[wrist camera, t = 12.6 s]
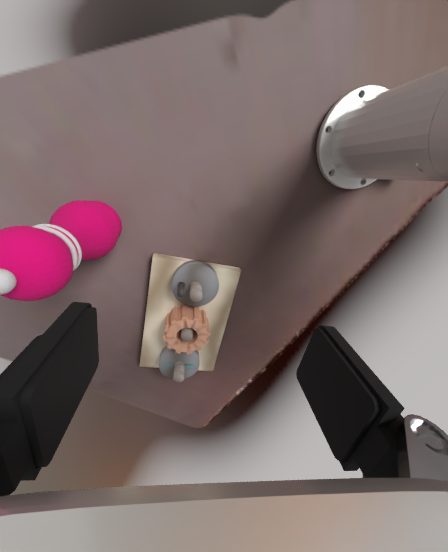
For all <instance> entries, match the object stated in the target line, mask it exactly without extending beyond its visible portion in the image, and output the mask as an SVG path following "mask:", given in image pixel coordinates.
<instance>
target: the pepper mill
mask: <svg viewBox="0 0 448 552" xmlns="http://www.w3.org/2000/svg"><path fill="white" fill-rule="evenodd" d="M121 230H122V225H121V220H120V218H119V216H118V214H117V213H116V211H115V210H114V209H113V208H111V207H110V206H109V205H107V204H105V203H102V202H99V201H72V202H70V203H67V204H65V205H63V206H61V207H60V208H59V209H58V210H56V212H55V213H54V214H53V215H52V217H51V219H50V223H49V224H38V225H35V226H32V227H29V226H14V227H9V228H4V229H2V230H0V295H2V296H4V297H7V298H10V299H15V300H21V301H34V300H40V299H44V298H47V297H50V296H52V295H54V294H56V293H57V292H59V291H60V290H61V289H63V288H64V287H65V286H66V284H67V283H68V282H69V280H70V279H71V277H72V273H73V271H74V270H75V269H76V268H77V267H78V266H79V264H80V262H81V260H92V259H97V258H100V257H102V256H104V255H106V254H107V253H109V252H110V251H111V250H112V249H113V247H114V246H115V244H116V242H117V239H118V237H119V236H120V233H121Z"/></svg>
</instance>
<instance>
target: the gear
mask: <svg viewBox="0 0 448 552" xmlns="http://www.w3.org/2000/svg"><path fill="white" fill-rule="evenodd" d="M183 328H192V333H193V337H192V339H191V340H190V341H183V340H182V339H181V329H183ZM208 336H210V329H209V322H208V318H207V317H206V312H205V311H204V310H200V309H199V307H191V306H187V305H184V304H183V306H182V307H179V308H178V307H177V306H176V307H174V308H172V313H171V314H170V313H168V314H167V316H166V322H165V329H164V335H163V339H164V341H167V347H168V348H169V349H171V348H173V349H175V350H176V351H175V353H179V354H180V353H181V352H187V354H192V351H195V350H197V351H200V350H202V346H203V345H204V344H205V345H207V343H208V342H209V339H208Z"/></svg>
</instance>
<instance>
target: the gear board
mask: <svg viewBox="0 0 448 552" xmlns="http://www.w3.org/2000/svg"><path fill="white" fill-rule="evenodd" d="M240 274H241V270H240V268H239V267H233V266H227V265H221V264H215V263H209V262H203V261H200V260H192V259H186V258H180V257H174V256H168V255H162V254H156V253H154V254H153V258H152V266H151V274H150V283H149V291H148V299H147V308H146V316H145V325H144V333H143V341H142V350H141V358H140V367H156V368H159V369H160V371H161V373H162V374H163V375H164V376H166V377H168V378H170V379H173V380H174V381H175V382H177V383H180V382H182V381H183V380H184V379H186V378H189V377H191V376H192V375H194V374H195V373H196V372H197V370H203V371H213V369H214V365H215V362H216V358H217V355H218V351H219V348H220V344H221V341H222V337H223V334H224V330H225V327H226V323H227V319H228V316H229V312H230V309H231V305H232V302H233V298H234V295H235V291H236V288H237V284H238V281H239V277H240ZM183 304H184V305H187V306H191V307H199V309H200V310H204V311H205V312H206V317H207V318H208V322H209V329H210V336H208V339H209V342H208V343H207V345H205V344H204V345H203V346H202V350H200V351H197V350H195V351H192V354H187V352H181V353H180V354H179V353H175V351H176V350H175V349H173V348H171V349H169V348H168V347H167V341H164V339H163V335H164V329H165V322H166V316H167V314H168V313H170V314H171V313H172V308H174V307H176V306H177V307H178V308H179V307H182V306H183ZM192 337H193V333H192V328H183V329H181V339H182V340H183V341H190V340H191V339H192Z"/></svg>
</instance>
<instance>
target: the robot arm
mask: <svg viewBox="0 0 448 552" xmlns="http://www.w3.org/2000/svg"><path fill="white" fill-rule="evenodd" d="M325 130H326V131H325ZM316 153H317V161H318V165H319V168H320V170H321V172H322V174H323V176H324V177H325V178H326V179H327V181H329V182H330V183H331V184H333V185H334V186H337V187H339V188H344V189H358V188H362V187H365V186H367V185H369V184H371V183H373V182H374V181H376V180H377V179H387V180H412V181H437V182H448V66H446V67H443V68H441V69H438V70H436V71H434V72H431V73H429V74H426V75H424V76H421V77H419V78H417V79H414V80H412V81H409V82H407V83H404V84H402V85H399V86H397V87H395V88H392V89H390V90H388V89H387V88H385V87H382V86H378V85H366V86H362V87H359V88H357V89H355V90H352V91H350V92H349V93H347V94H346V95H344V96H343V97H341V98H340V99H339V100H338V101H337V102H336V103H335V104H334V105H333V107H332V108H331V109H330V110H329V112H328V113H327V115H326V117H325V119H324V121H323V123H322V125H321V128H320V131H319V134H318V139H317V148H316ZM329 171H330V173H329ZM98 362H99V355H98V333H97V311H96V308H94V307H92V305H91V304H90V303H81V302H73V303H71V304H70V305H69V307H68V308H67V309H66V310H65V311H64V312H63V313H62V314H61V315H60V316H59V317H58V319H57V320H56V321H55V322H54V323H53V324H52V325H51V326H50V327H49V328H48V329H47V330H46V332H45V333H44V334H43V335H40V336H37V337H36V338H35V339H34V340H33V341H32V342H31V343H30V344H29V345H28V346H27V347H26V348H25V349H24V350H23V351H22V352H21V353H20V354H19V356H18V357H17V358H16V359H15V360H14V361H13V362H12V363H11V364H10V365H9V366H8V367H7V368H6V369H5V370H4V371H3V373H1V375H0V552H448V435H447V434H446V433H445V432H444V431H443V430H441V429H440V428H439V427H438V426H436V425H435V424H433V423H432V422H430V421H429V420H427V419H425V418H422V417H420V416H417V415H413V414H412V415H407V416H406V417H405V418H403V417H402V416H401V412H402V411H403V410H404V407H403V406H402V405H401V404H400V403H399V402H398V401H397V399H396V398H395V397H394V396H393V395H392V393H390V391H389V390H388V389H387V388H386V386H385V385H384V384H383V383H382V382H381V381H380V380H379V378H378V377H377V376H376V375H375V374H374V373H373V371H372V370H371V369H370V368H369V367H368V366H367V364H366V363H365V362H364V361H363V360H362V359H361V358H360V356H359V355H358V354H357V353H356V352H355V351H354V350H353V348H352V347H351V346H350V345H349V344H348V342H347V341H346V340H345V339H344V338H343V337H342V336H341V334H340V333H339V332H338V331H337V330H336V329H335V328H334V327H332V326H319V327H318V328H316V329H315V330H314V333H313V335H312V337H311V339H310V342H309V344H308V346H307V349H306V351H305V353H304V355H303V358H302V360H301V363H300V365H299V367H298V369H297V379H298V381H299V383H300V386H301V387H302V389H303V392H304V394H305V396H306V398H307V400H308V402H309V404H310V406H311V409H312V411H313V413H314V415H315V417H316V419H317V421H318V423H319V425H320V427H321V429H322V432H323V434H324V436H325V438H326V440H327V442H328V444H329V446H330V448H331V450H332V453H333V454H334V456H335V458H336V459H337V460H339V461H340V463H341V465H342V467H343V470H344V471H355V470H356V471H357V470H358V469H359V467H360V469H361V471H362V473H363V478H350V479H318V480H286V481H258V482H231V483H204V484H180V485H158V486H157V485H156V486H133V487H111V488H110V487H109V488H93V489H77V490H60V491H47V492H45V491H44V492H35V493H27V494H17V495H10V494H11V493H12V492H13V491H15V489H16V488H17V486H18V484H19V482H20V481H21V480H35V479H36V477H37V475H38V473H39V471H40V469H41V468H42V467H46V466H47V465H48V464H49V463H50V461H51V460H52V458H53V456H54V454H55V451H56V450H57V448H58V445H59V444H60V442H61V439H62V438H63V436H64V434H65V432H66V430H67V428H68V425H69V424H70V422H71V419H72V417H73V415H74V413H75V411H76V409H77V407H78V405H79V403H80V401H81V399H82V397H83V395H84V393H85V391H86V389H87V387H88V385H89V383H90V381H91V379H92V377H93V375H94V373H95V371H96V369H97V366H98Z"/></svg>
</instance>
